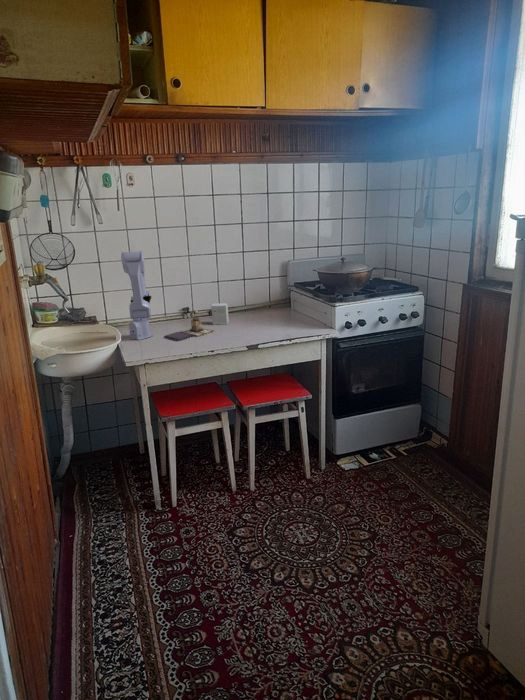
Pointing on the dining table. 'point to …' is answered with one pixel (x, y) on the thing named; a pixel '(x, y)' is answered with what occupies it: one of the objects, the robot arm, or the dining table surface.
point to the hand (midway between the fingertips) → (142, 311)
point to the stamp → (196, 325)
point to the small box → (220, 313)
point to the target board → (197, 333)
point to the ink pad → (178, 336)
